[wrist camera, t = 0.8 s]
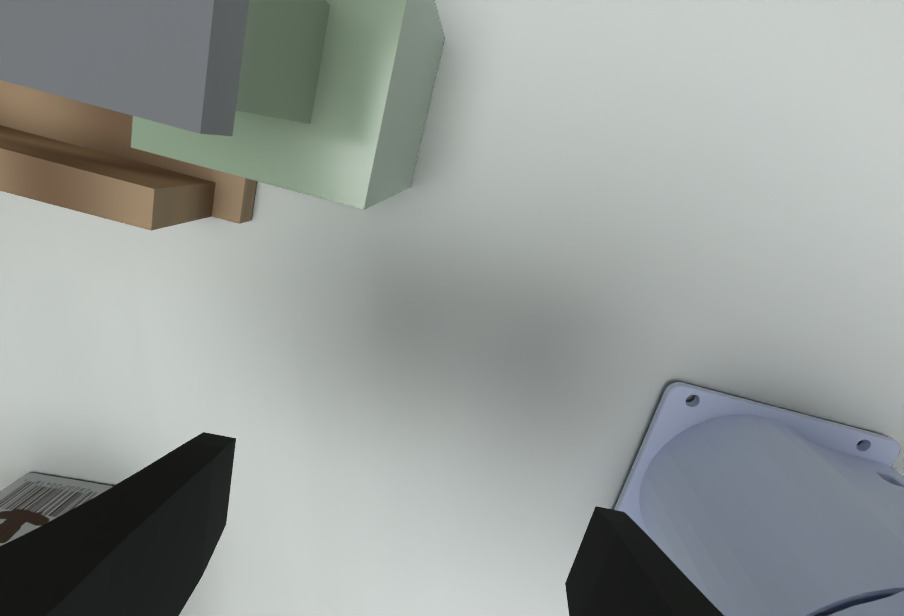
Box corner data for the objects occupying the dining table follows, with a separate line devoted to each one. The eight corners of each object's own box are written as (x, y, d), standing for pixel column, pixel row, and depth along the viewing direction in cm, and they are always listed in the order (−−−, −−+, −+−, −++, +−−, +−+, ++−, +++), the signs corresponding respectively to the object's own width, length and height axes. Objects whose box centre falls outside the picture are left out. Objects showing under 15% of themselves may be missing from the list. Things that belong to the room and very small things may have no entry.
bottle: (444, 37, 17) (362, -266, 5) (410, 186, 18) (279, 250, 6) (298, -3, 17) (-182, -427, 5) (275, 150, 18) (-135, 142, 6)
